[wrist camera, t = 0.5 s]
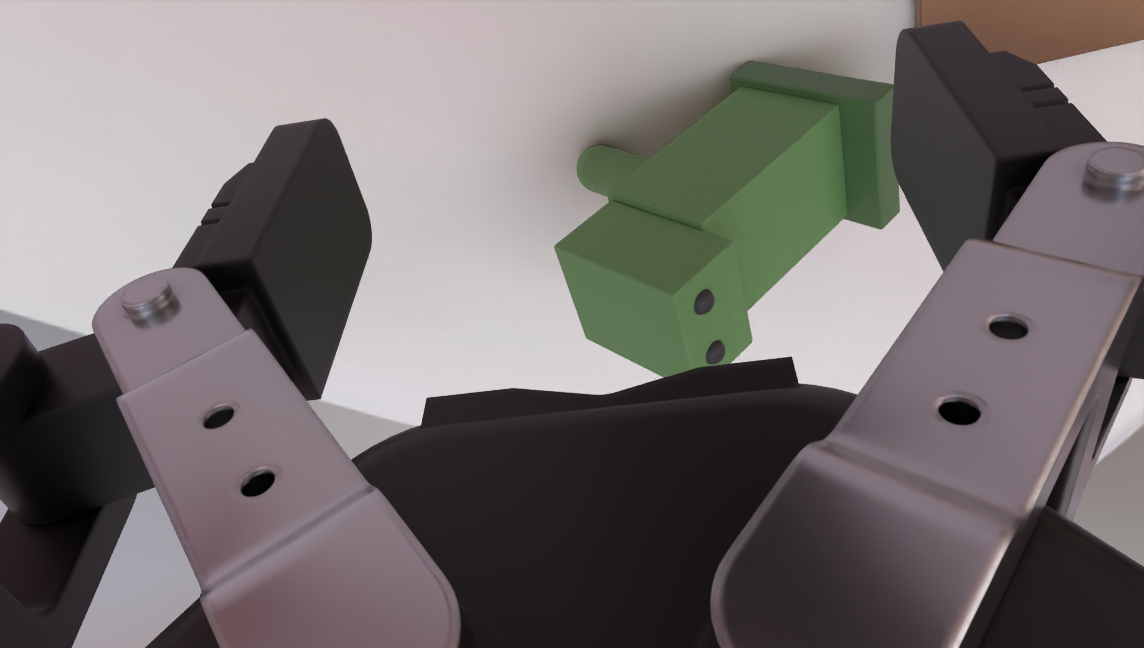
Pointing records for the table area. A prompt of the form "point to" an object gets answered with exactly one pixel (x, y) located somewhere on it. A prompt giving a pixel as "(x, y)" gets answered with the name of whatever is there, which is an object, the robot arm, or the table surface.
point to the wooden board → (1041, 24)
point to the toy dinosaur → (725, 213)
